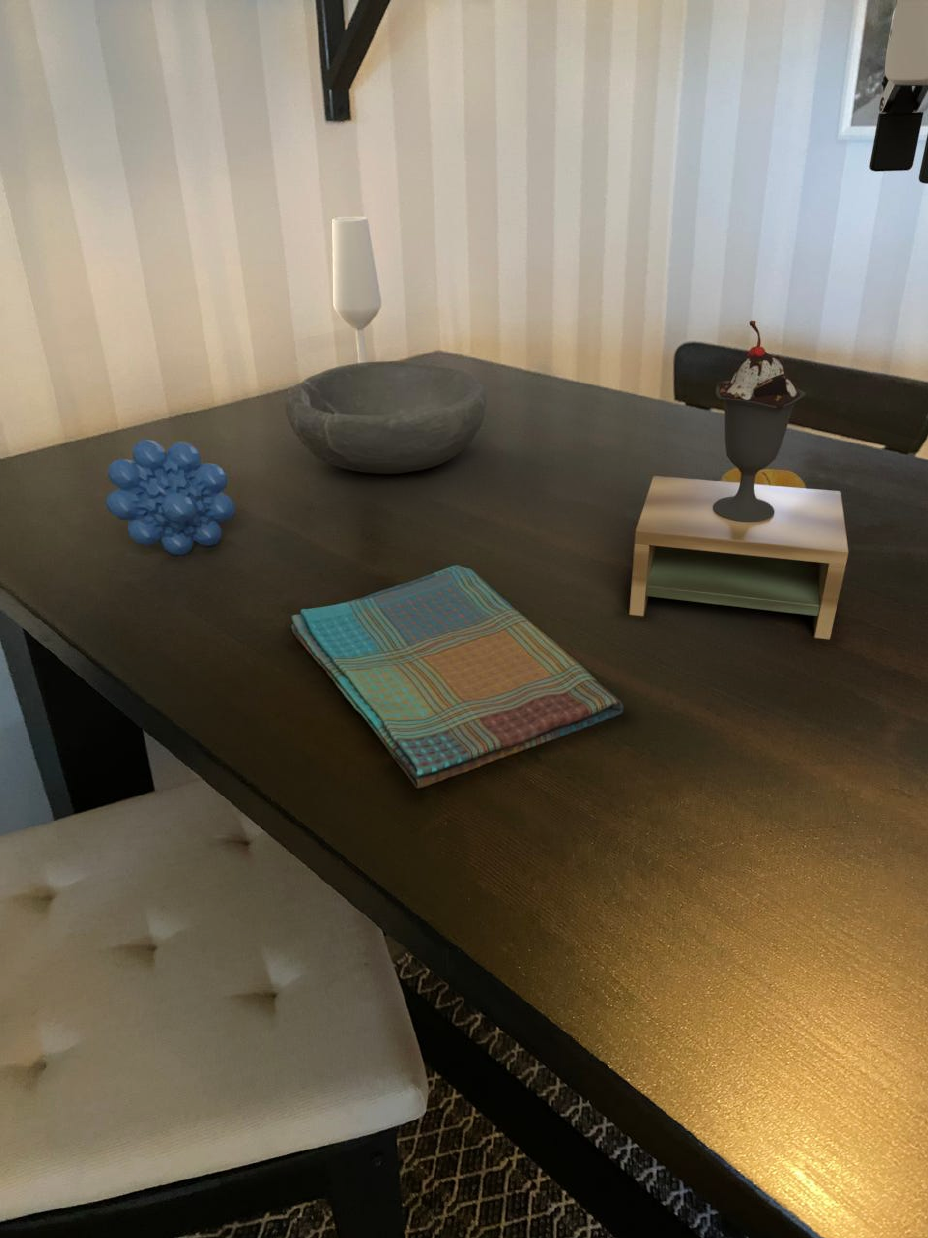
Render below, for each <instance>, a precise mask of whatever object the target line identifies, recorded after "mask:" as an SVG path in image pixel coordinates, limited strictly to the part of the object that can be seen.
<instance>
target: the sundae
mask: <svg viewBox="0 0 928 1238" xmlns="http://www.w3.org/2000/svg"><path fill="white" fill-rule="evenodd" d="M749 326H751V328H752V329H753V330H754V331H755V332H756V333H757V335H756V336H757V341H756V342H757V343H756V346H751V348H750V349H749V350H748V354H747V359H746V360H745V361H744V362H742V364H741V366H739V368H738V369H737V370H736V371H735V373H734V374H733V377H732V379H731V380H724V381H720V382H717V384H716V385H715V395H716V397H717V398H718V399H719V400H721V401H722V402H723V410H724V446H725V455H726V457H727V458H728V460H729V462H730V463H731V464H732V465H733V466H735V468H736V467H737V468H738V469H739V471H740V472H741V479H740V485H739V489H738V492H737V494H736V495H735V496H733V497H725V498H722V499H720V500H718V501H717V502H715V503H714V505H713V510H714V511H715V512H716V513H717V514H718V515H720V516H722V517H724V518H726V519H729V520H734V521H739V522H759V521H764V520H767V519H769V518H770V517H772V516H773V515H774V508H773V507H772V506H771V505H770V504H769V503H767V502H765V501H763V500H760V499H757V498H756V496H755V493H754V482H755V476H756V473H757V472H758V471H760V470H764V469H766V468H767V467H768V466H769V465H771V464H772V463H773V462H774V461H775V460H776V459H777V457H778V454H779V452H780V449H781V447H782V444H783V441H784V438H785V435H786V432H787V428H788V424H789V421H790V419H791V416H792V412H793V409H794V406H795V403H796V402H798V401H799V400H801V399H802V398H803V397H805V395H806V392H805V391H804V390H801V389H800V388H798V387H797V386H796V385H794V384H793V383H792V382H791V381H790V379H788V378H787V376H786V374H785V371H784V367H783V365H782V363H781V362H780V360H779V359H778V358H776V356H774V355H772V354H770V353H769V352H766V349H765V348H764V346H761V343H762V341H761V336H760V331H759V329H758V327H757V325H756V321H755V320H750V321H749Z"/></svg>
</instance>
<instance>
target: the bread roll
mask: <svg viewBox="0 0 928 1238" xmlns="http://www.w3.org/2000/svg"><path fill="white" fill-rule="evenodd" d="M740 479H741V472H740V471H739V469H738V468H737V467H736V466H735V467H734V468H731V469H729V470H727V471H726V472H725V473H724V474H723V475H722V477H721V479H720V481H722V482H734V483H740ZM754 484H758V485H770V486H782V487H794V488H806V489H807V486H806V484H805V482H804V481H803V479H802V478H801V477H800V476H799V475H798V474H796V473H795V472H793V471H790V470H786V469H777V468H775V469H774V468H763V469H761V470H760V471H758V472H757V473H756V476H755V482H754Z"/></svg>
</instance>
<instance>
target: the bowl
mask: <svg viewBox="0 0 928 1238" xmlns="http://www.w3.org/2000/svg"><path fill="white" fill-rule="evenodd" d="M286 394H287V395H286V399H285V400H286V401H285V413H286V415H287V419H288V422H289V424H290V427H291V429H292V431H293V432H294V434H295V436H297V438H298V439H299V440H300V442H301V443H302V444H303V445H304V447H306V448H307V450H308V451H309V452H310V453H311V454H312V455H314V456H315V458H317V459H319V460H320V461H322V462H324V463H327V464H328V465H332V466H335V467H338V468H340V469H341V468H342V469H345V470H349V471H354V472H358V473H359V472H360V473H369V474H378V475H379V474H384V475H396V474H404V473H411V472H419V471H423V470H427V469H430V468H433V467H436V466H440V465H442V464H444V463H446V462H448V461H449V460H452V459H453V458H454V457H456V456H458V454H460V453H461V452H462V451H463V450H464V449H465V448H466V447H467V446H468V445H469V444H470V443H472V441H473V439H474V438H475V437H476V435H477V433H478V432H479V430H480V428H481V426H482V423H483V422H484V418H485V415H486V407H487V399H486V397H487V396H486V391H485V389H484V387H483V385H482V384H481V383H480V381H479V380H478V379H477V378H476V377H474V376H473V375H471V374H469V373H467V372H465V371H463V370H459V369H457V368H453V367H449V366H445V365H437V364H427V363H419V362H410V361H397V360H387V361H385V360H384V361H383V360H382V361H366V362H364V363H358V362H357V363H351V364H346V365H340V366H336V367H333V368H329V369H326V370H324V371H321V372H319V373H316V374H314V375H312V376H309V377H308V378H305V379H304V380H303V381H301V382H300V383H297V384H295V385H293V386H291V388H289V389H288V391H287V393H286Z"/></svg>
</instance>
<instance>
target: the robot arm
mask: <svg viewBox="0 0 928 1238" xmlns="http://www.w3.org/2000/svg"><path fill="white" fill-rule="evenodd" d="M892 14H893V15H892V19H891V25H890V30H889V36H888V42H887V46H886V47H887V48H886V51H885V62H884V63H885V64H884V76H883V77H882V81H881V87H882V92H883V93H882V94H881V96H880V99H879V101H878V102H879V103H878V115H877V121H876V126H875V132H874V137H873V143H872V148H871V155H870V160H869V165H868V167H869V170H870V171H872V172H901V171H902V172H903V171H904V172H905V171H910V170H911V169H912V168H913V166H914V162H915V157H916V152H917V147H918V142H919V137H920V132H921V129H922V123H923V122H922V121H923V117H924V112H923V111H919V110H920V107H921V105H922V103H923V101H924V99H925V98H926V96H927V93H928V0H896V1H895V4H894V10H893V13H892ZM925 139H926V140H925V145H924V150H923V153H922V159H921V165H920V169H919V174H918V181H919V183H921V184H925V185H927V184H928V133H927V135H926V138H925Z"/></svg>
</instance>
